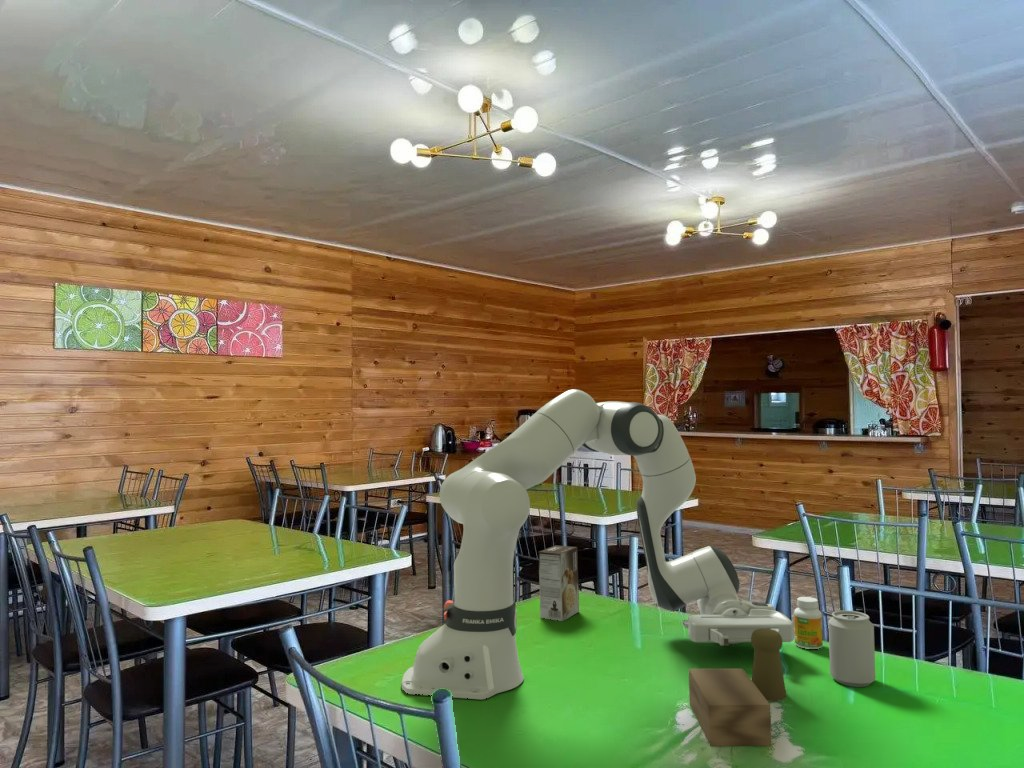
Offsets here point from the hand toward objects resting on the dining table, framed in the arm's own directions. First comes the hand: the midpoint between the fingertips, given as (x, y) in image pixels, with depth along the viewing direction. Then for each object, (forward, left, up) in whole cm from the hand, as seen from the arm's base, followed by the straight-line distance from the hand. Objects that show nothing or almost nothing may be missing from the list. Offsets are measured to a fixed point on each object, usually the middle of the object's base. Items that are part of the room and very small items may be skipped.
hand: (750, 641), depth 138 cm
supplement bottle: (+16, +15, -6) cm, 23 cm away
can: (+17, -4, -6) cm, 19 cm away
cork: (0, -10, -6) cm, 12 cm away
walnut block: (-10, -22, -6) cm, 25 cm away
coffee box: (-35, +39, -6) cm, 53 cm away
